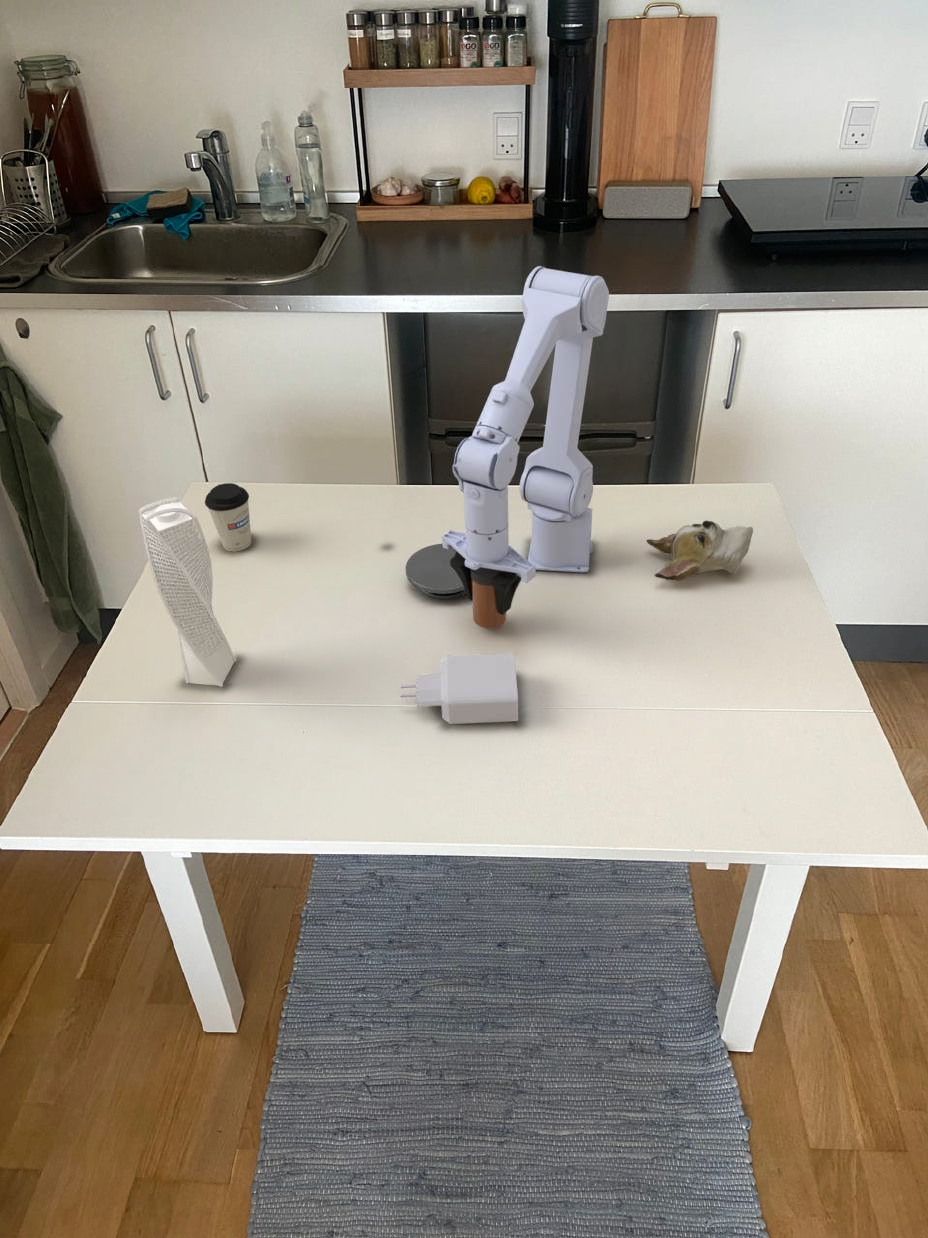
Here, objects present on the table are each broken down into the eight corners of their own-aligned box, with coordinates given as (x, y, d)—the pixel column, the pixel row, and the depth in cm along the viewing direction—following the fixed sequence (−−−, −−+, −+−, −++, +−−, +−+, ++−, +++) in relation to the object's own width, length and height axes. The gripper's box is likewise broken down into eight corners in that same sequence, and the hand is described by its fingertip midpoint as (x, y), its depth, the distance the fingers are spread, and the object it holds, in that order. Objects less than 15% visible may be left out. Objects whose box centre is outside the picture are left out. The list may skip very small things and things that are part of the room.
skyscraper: (226, 695, 125) (178, 518, 108) (174, 690, 127) (118, 515, 109) (246, 656, 132) (203, 483, 114) (196, 652, 133) (146, 480, 115)
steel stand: (489, 560, 147) (489, 545, 145) (479, 608, 138) (479, 591, 136) (415, 556, 149) (413, 541, 147) (400, 603, 140) (398, 587, 138)
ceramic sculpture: (762, 538, 134) (656, 545, 135) (756, 587, 139) (654, 593, 140) (746, 499, 142) (646, 506, 143) (741, 546, 147) (645, 553, 148)
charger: (403, 680, 126) (514, 675, 126) (401, 729, 119) (518, 724, 119) (400, 654, 123) (513, 649, 123) (398, 703, 116) (518, 697, 116)
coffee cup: (207, 545, 154) (193, 493, 147) (240, 526, 158) (229, 475, 151) (233, 560, 150) (220, 507, 144) (267, 541, 154) (256, 488, 148)
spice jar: (508, 608, 135) (508, 557, 130) (504, 630, 132) (504, 578, 126) (475, 606, 136) (473, 555, 130) (470, 627, 132) (468, 576, 127)
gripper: (425, 519, 125) (431, 599, 133) (513, 555, 118) (514, 637, 126) (458, 496, 129) (462, 575, 138) (545, 529, 122) (543, 611, 130)
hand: (489, 603), depth 132 cm, fingers closed on spice jar, 5 cm apart
